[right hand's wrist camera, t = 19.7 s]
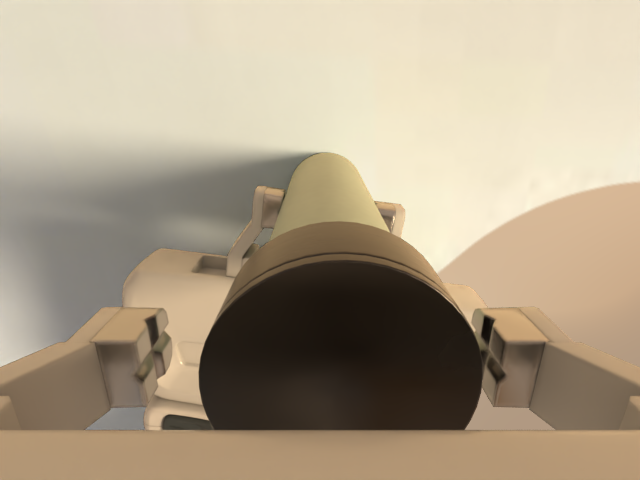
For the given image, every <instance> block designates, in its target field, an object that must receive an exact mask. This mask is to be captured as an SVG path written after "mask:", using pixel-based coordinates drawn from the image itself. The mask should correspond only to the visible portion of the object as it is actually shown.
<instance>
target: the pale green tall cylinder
mask: <svg viewBox="0 0 640 480" xmlns="http://www.w3.org/2000/svg"><path fill="white" fill-rule="evenodd" d="M333 221H344V222H356V223H361V224H366V225H370V226H374V227H377V228H380V229H382V230H385V231H388V232H390V231H389V229H388V227H387V225H386V224H385V222H384V220H383V218H382V216H381V214H380V212H379V210H378V208H377V206H376V205H375V203H374V201H373V199H372V197H371V195H370V193H369V191H368V189H367V187H366V185H365V184H364V182H363V180H362V178H361V176H360V174H359V172H358V170H357V169H356V167H355V166H354V165H353V164H352V163H351V162H350V161H349V160H348V159H346V158H344V157H343V156H340V155H338V154H334V153H319V154H315V155H312V156H310V157H308V158H307V159H305V160H304V161H302V162H301V163H300V164H299V165H298V167H297V168H296V170H295V171H294V173H293V175H292V178H291V181H290V184H289V186H288V189H287V192H286V195H285V198H284V201H283V203H282V206H281V209H280V212H279V215H278V218H277V220H276V223H275V226H274V229H273V232H272V235H271V237H270V240H269V241H271V240H272V239H274V238H276V237H277V236H279V235H281V234H283V233H286V232H288V231H290V230H292V229H295V228H299V227H302V226H305V225H309V224H315V223H321V222H333Z"/></svg>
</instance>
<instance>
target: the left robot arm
mask: <svg viewBox="0 0 640 480" xmlns="http://www.w3.org/2000/svg"><path fill="white" fill-rule="evenodd" d="M285 191H286V190H285V189H279V188H272V187H267V186H257V188H256V189H255V193H254V198H253V208H252V219H251V221H250V222H249V223H248V225H247V226H246V228H245V229H244V230H243V232H242V233H241V234H240V236H239V237H238V238H237V240H236V241H235V243H234V244H233V246H232V248H231V250H230V251H229V253H228V255H227V256H222V255H214V254H206V253H198V252H190V251H182V250H174V249H165V248H162V249H158V250H156V251H154V252H153V253H152V254H150V255H149V256H148V257H147V258H145V259H144V260H143V261H142V262H141V263H139V264H138V265H137V266H136V268H135V269H134V270H133V271H132V272H131V273H130V274H129V276H128V277H127V279H126V280H125V283H124V285H123V292H122V303H123V307H143V308H164V309H165V311H166V312H167V316H168V321H169V323H168V325H167V326H166V328H165V330H164V331H165V332H166V333H167V334H168V335H169V336H170V337H171V340H172V358H171V362H170V366H169V368H168V370H167V372H166V374H165V375H163V376H162V377H160V378H159V379H157V382H158V388H157V390H156V392H155V393H154V395H153V397H152V399H151V400H150V402H149V404H148V406H147V407H146V409H145V412H144V427H145V430H214V429H213V427H212V425H211V423H210V421H209V419H208V418H207V415H206V413H205V410H204V407H203V404H202V401H201V396H200V390H199V375H198V371H199V364H200V357H201V353H202V350H203V347H204V343H205V341H206V338H207V336H208V334H209V332H210V330H211V328H212V326H213V324H214V321H215V319H216V317H217V315H218V313H219V311H220V309H221V307H222V304H223V302H224V300H225V298H226V296H227V294H228V292H229V290H230V288H231V285H232V283H233V281H234V279H235V277H236V275H237V274H238V272H239V271H240V269H241V268H242V266H243V265H244V264H245V263H246V261H247V260H248V259H249V258H250V257H251V256H252V255H253V254H254V253H255V252H256V251H257V250H259V245H258V244H252V243H253V242H254V240H255V239H256V238H257V236H258V235H259V234H260V232H261V231H262V230H263V228H274V226H275V223H276V220H277V218H278V215H279V212H280V209H281V206H282V203H283V201H284V198H285ZM374 203H375V205H376V206H377V208H378V210H379V212H380V214H381V216H382V218H383V220H384V222H385V224H386V225H387V227H388V229H389V231H390V233H392V234H394V235H396V236H398V237H400V238H401V233H402V229H403V224H404V220H405V209H404V208H403V207H402V205H401V204H395V203H387V202H378V201H374ZM443 284H444V286H445V287H446V289H447V290H448V292H449V293H450V295H451V296H452V298H453V299H454V301H455V302H456V304H457V305H458V307H459V309H460V310H461V311H462V313H463V314H464V316H465V317H466V319H467V321H468V323H469V324H470V326H471V328H472V329H473V331H474V332H475V331H476V330H475V328H474V326H473V325H472V323H471V321H472V315H473V313H474V310H475V309H477V308H488V307H487V305H486V304H485V303H484V301H483V300H482V299H481V298H480V297H479V295H478V294H477V293H476V292H475V291H474V290H473V289H472V288H471V287H469V286H465V285H459V284H451V283H443Z"/></svg>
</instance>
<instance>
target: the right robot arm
mask: <svg viewBox="0 0 640 480" xmlns="http://www.w3.org/2000/svg"><path fill="white" fill-rule="evenodd" d="M168 323H169V321H168V316H167V312H166V311H165V309H164V308H143V307H105V308H101V309H100V310H99V311H98V312H97V313H96V314H95V315H94V316H93V317H92V318H91V319H90V320H89V321H88V322H86V323H85V324H84V325H83V326H82V327H81V328H80V329H79V330H78V331H77V332H76V333H75V334H74V335H73V336H72V337H71V338H70V339H68V340H67V341H66V342H59V343H56V344H54V345H52V346H49V347H47V348H44V349H42V350H40V351H37V352H35V353H33V354H30V355H28V356H26V357H23V358H21V359H19V360H16V361H14V362H11V363H9V364H7V365H4V366H2V367H0V480H640V367H638V366H635V365H633V364H631V363H628V362H626V361H624V360H621V359H619V358H617V357H614V356H612V355H610V354H607V353H605V352H603V351H600V350H598V349H596V348H593V347H591V346H588V345H586V344H584V343H581V342H574V341H573V340H572V339H570V338H569V337H568V336H567V335H566V334H565V333H564V332H563V331H562V330H561V329H560V328H559V327H558V326H557V325H556V324H555V323H554V322H553V321H551V320H550V319H549V318H548V317H547V316H546V315H545V314H544V313H543V312H542V311H541V310H540V309H539V308H536V307H509V308H477V309H475V310H474V313H473V315H472V321H471V323H472V325H473V326H474V328H475V330H476V331H475V332H474V334H475V336H476V339H477V342H478V344H479V347H480V352H481V357H482V366H483V382H482V388H483V390H484V392H485V393H486V395H487V397H488V399H489V400H490V402H491V404H492V405H493V407H518V408H530V409H529V410H531V411H532V412H533V413H535V414H536V415H537V416H539V417H540V418H541V419H542V420H544V421H545V422H546V423H548V424H549V425H550V426H552V427H553V428H554V429H555V430H85V429H86V428H87V427H89V426H90V425H91V424H92V423H94V422H95V421H96V420H98V419H99V418H100V417H102V416H103V415H104V414H105V413H107V412H108V411H109V410H110V408H121V407H147V406H148V404H149V402H150V400H151V399H152V397H153V395H154V393H155V392H156V390H157V388H158V382H157V379H159V378H160V377H162V376H163V375H165V374H166V372H167V370H168V368H169V366H170V362H171V358H172V340H171V337H170V336H169V335H168V334H167V333H166V332H165V331H164V330H165V328H166V326H167V325H168Z"/></svg>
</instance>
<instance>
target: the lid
mask: <svg viewBox="0 0 640 480" xmlns="http://www.w3.org/2000/svg"><path fill="white" fill-rule="evenodd" d="M198 375H199V390H200V396H201V401H202V404H203V407H204V410H205V413H206V415H207V418H208V419H209V421H210V423H211V425H212V427H213V429H214V430H465V428H466V427H467V425H468V424H469V422H470V420H471V418H472V416H473V414H474V412H475V410H476V407H477V404H478V401H479V397H480V394H481V388H482V380H483V366H482V357H481V352H480V347H479V344H478V342H477V339H476V336H475V334H474V331H473V329H472V328H471V326H470V324H469V323H468V321H467V319H466V317H465V316H464V314H463V313H462V311H461V310H460V309H459V307H458V305H457V304H456V302H455V301H454V299H453V298H452V296H451V295H450V293H449V292H448V290H447V289H446V287H445V286H444V284H443V283H442V281H441V280H440V278H439V277H438V275H437V274H436V272H435V271H434V269H433V268H432V266H431V265H430V264H429V263H428V261H427V260H426V259H425V258H424V256H423V255H421V254H420V253H419V252H418V251H417V250H416V249H415V248H414V247H413V246H411V245H410V244H408V243H407V242H406V241H404V240H403V239H401V238H400V237H398V236H396V235H394V234H392V233H390V232H388V231H385V230H382V229H380V228H377V227H374V226H370V225H366V224H361V223H356V222H344V221H333V222H321V223H315V224H309V225H305V226H302V227H299V228H295V229H292V230H290V231H288V232H286V233H283V234H281V235H279V236H277V237H276V238H274V239H272V240H271V241H269V242H268V243H266V244H265V245H263V246H262V247H261V248H260V249H259V250H257V251H256V252H255V253H254V254H253V255H252V256H251V257H250V258H249V259H248V260H247V261H246V263H245V264H244V265H243V266H242V268H241V269H240V271H239V272H238V274H237V275H236V277H235V279H234V281H233V283H232V285H231V288H230V290H229V292H228V294H227V296H226V298H225V300H224V302H223V304H222V307H221V309H220V311H219V313H218V315H217V317H216V319H215V321H214V324H213V326H212V328H211V330H210V332H209V334H208V336H207V338H206V341H205V343H204V347H203V350H202V353H201V357H200V364H199V371H198Z"/></svg>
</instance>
